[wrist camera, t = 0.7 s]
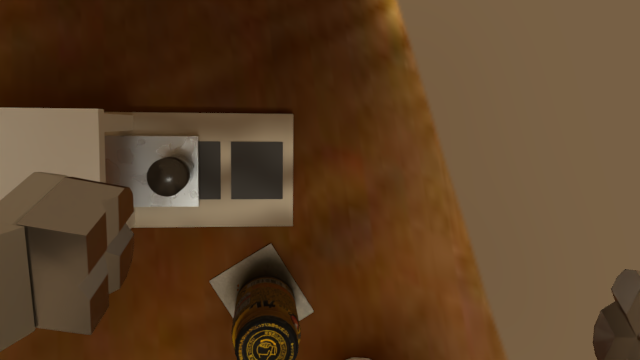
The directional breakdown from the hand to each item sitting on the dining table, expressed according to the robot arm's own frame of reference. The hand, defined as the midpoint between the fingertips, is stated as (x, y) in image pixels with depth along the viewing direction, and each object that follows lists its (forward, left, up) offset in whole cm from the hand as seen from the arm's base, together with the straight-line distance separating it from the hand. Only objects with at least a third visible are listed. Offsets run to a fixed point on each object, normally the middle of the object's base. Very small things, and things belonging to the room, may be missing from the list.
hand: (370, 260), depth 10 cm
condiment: (-15, +1, -49) cm, 51 cm away
